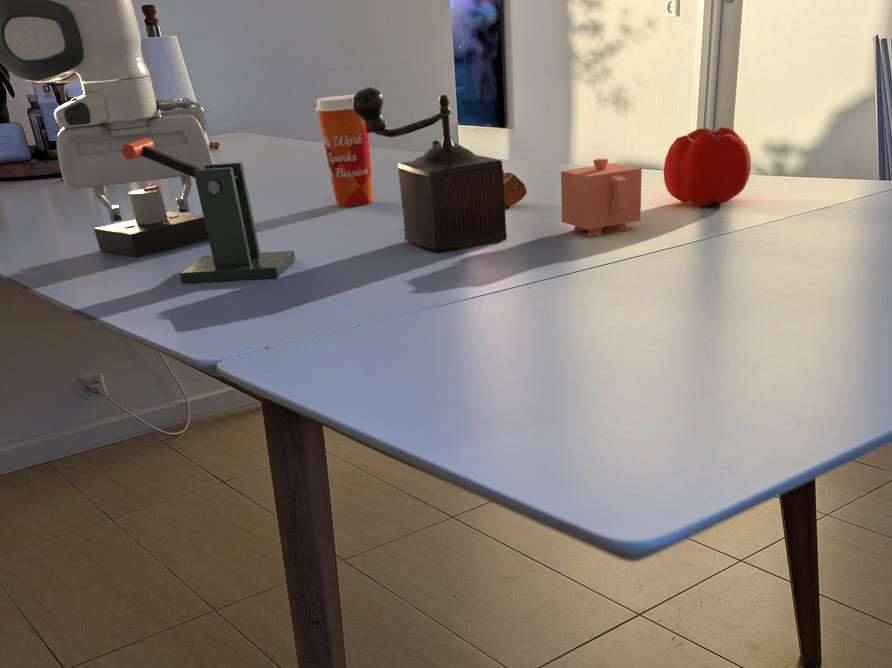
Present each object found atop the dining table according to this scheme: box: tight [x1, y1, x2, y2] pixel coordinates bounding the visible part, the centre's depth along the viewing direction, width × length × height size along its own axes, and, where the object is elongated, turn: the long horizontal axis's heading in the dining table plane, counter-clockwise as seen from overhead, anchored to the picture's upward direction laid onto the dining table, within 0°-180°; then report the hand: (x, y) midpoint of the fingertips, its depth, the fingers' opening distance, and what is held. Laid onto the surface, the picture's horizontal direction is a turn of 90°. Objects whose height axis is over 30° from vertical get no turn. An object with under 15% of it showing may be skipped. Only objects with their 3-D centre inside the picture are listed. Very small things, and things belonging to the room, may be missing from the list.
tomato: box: [663, 126, 752, 207], centre depth 126 cm, size 11×12×9 cm
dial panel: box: [93, 210, 209, 258], centre depth 132 cm, size 13×10×3 cm
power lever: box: [122, 138, 238, 183], centre depth 108 cm, size 12×6×2 cm, turn 86°
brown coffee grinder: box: [353, 86, 508, 254], centre depth 114 cm, size 16×11×18 cm
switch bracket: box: [179, 161, 296, 284], centre depth 111 cm, size 12×9×12 cm
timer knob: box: [128, 185, 168, 225], centre depth 129 cm, size 4×4×4 cm
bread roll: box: [503, 169, 528, 207], centre depth 136 cm, size 8×7×5 cm
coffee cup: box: [315, 94, 374, 208], centre depth 145 cm, size 8×8×15 cm
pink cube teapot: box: [560, 158, 643, 237], centre depth 117 cm, size 8×12×8 cm, turn 24°
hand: (150, 216), depth 130 cm, fingers open, 8 cm apart
